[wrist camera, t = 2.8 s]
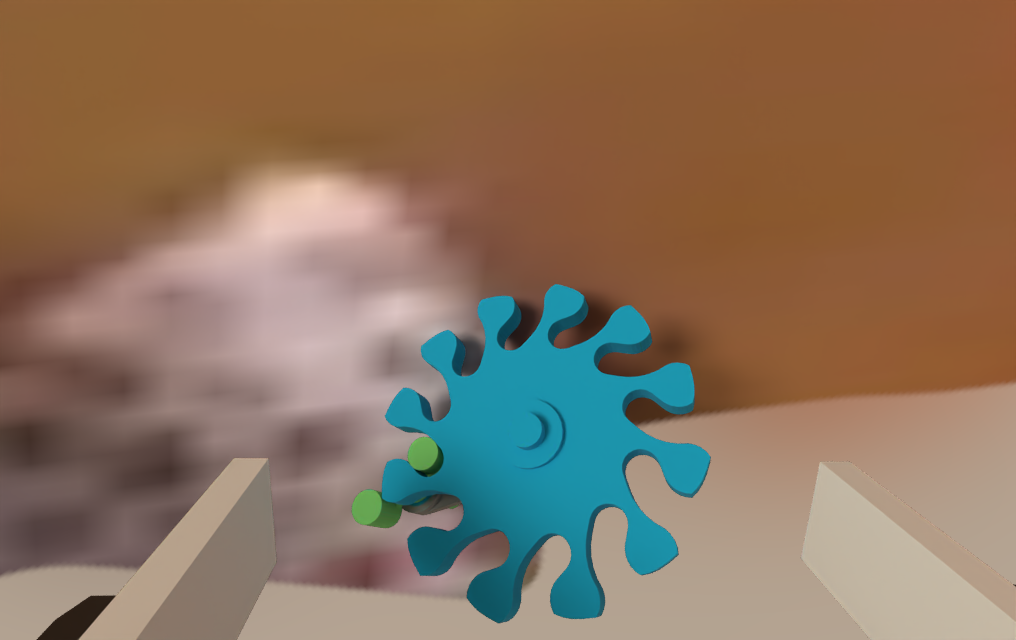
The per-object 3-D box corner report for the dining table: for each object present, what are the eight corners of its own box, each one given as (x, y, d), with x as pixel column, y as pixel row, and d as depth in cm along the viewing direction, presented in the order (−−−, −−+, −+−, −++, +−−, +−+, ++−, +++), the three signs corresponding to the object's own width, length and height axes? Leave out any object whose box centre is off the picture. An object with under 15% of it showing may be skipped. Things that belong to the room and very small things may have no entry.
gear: (632, 230, 17) (783, 566, 12) (647, 310, 22) (758, 571, 18) (327, 349, 19) (355, 683, 14) (405, 398, 24) (446, 656, 19)
